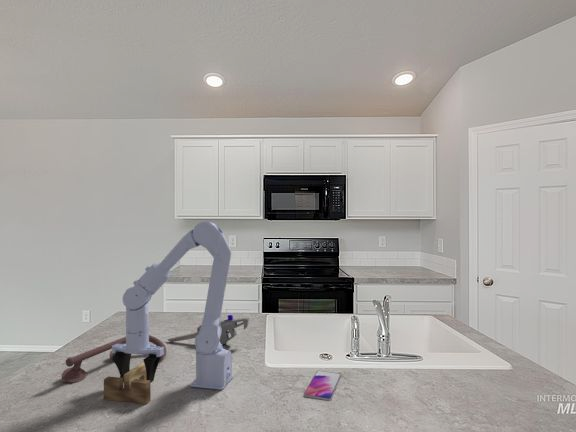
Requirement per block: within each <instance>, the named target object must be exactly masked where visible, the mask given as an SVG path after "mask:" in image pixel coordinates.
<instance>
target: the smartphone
mask: <svg viewBox="0 0 576 432" xmlns="http://www.w3.org/2000/svg"><path fill="white" fill-rule="evenodd" d="M341 378H342V374H341V373H338V372H331V371H326V370H317V371H315V374H314V376H313V377H312V378H311V380H310V382H309V384H308V385H307V387H306V388H305V391H304V392H303V397H305V398H309V399H316V400H321V401H322V400H323V401H329V402H330V401H332V400H333V397H334V395H335V392H336V390H337V387H338V385H339V383H340V380H341Z"/></svg>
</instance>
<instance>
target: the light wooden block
mask: <svg viewBox="0 0 576 432" xmlns="http://www.w3.org/2000/svg"><path fill="white" fill-rule="evenodd" d="M134 379H140V380H146V368H145V364H144V361H143V362H141V363H140V364H138V365H136V366H135V367H133V368H131V369H130V371H129V372H127V373H126V374H124V382H123V388H130V389H131V381H133V380H134Z"/></svg>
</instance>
